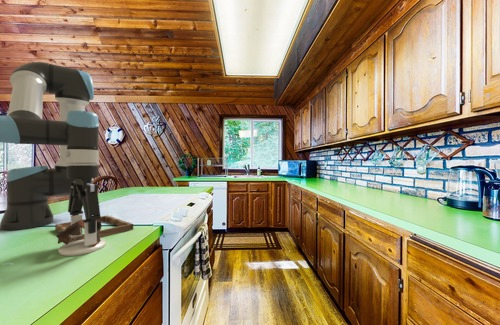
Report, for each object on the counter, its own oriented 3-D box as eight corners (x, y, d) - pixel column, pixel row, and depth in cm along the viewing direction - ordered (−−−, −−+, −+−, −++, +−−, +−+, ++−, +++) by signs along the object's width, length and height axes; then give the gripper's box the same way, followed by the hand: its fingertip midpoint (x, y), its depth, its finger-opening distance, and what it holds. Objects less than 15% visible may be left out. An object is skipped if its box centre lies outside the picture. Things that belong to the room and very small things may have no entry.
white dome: (53, 249, 65) (53, 246, 65) (97, 238, 73) (97, 235, 73) (65, 259, 58) (65, 255, 58) (112, 246, 67) (112, 243, 67)
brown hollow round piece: (89, 252, 61) (69, 228, 59) (62, 265, 63) (43, 242, 61) (116, 228, 73) (100, 207, 71) (93, 239, 74) (77, 219, 72)
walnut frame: (55, 229, 83) (55, 224, 83) (107, 220, 97) (107, 215, 97) (76, 243, 70) (76, 236, 70) (133, 229, 84) (133, 224, 84)
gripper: (55, 164, 69) (55, 235, 69) (82, 165, 56) (82, 254, 56) (83, 164, 75) (83, 229, 76) (114, 165, 62) (114, 245, 62)
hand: (83, 240), depth 66 cm, fingers open, 10 cm apart
